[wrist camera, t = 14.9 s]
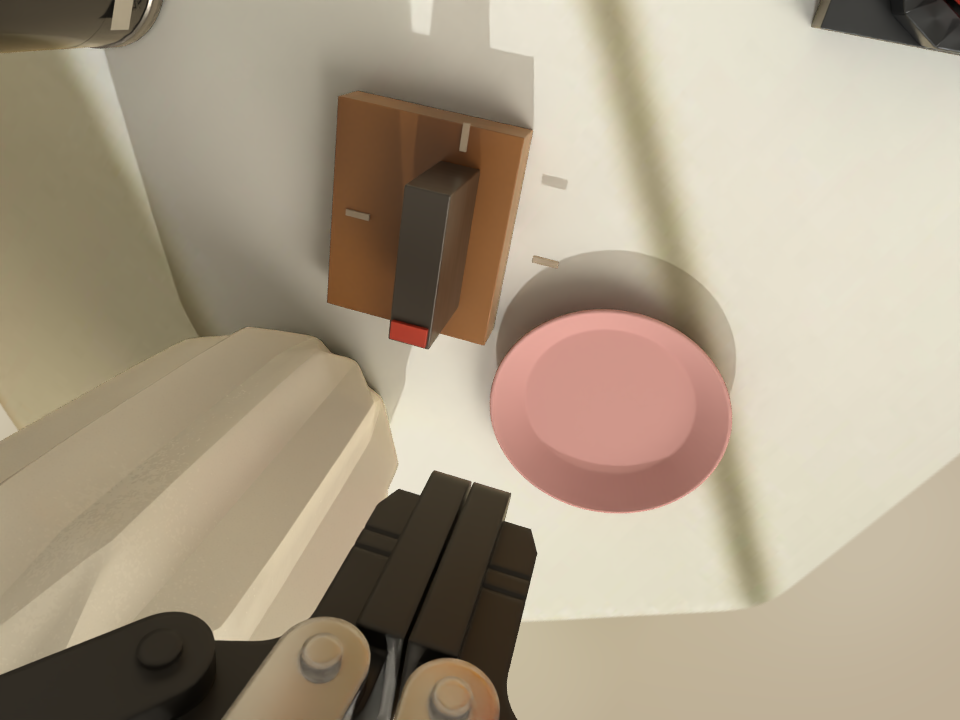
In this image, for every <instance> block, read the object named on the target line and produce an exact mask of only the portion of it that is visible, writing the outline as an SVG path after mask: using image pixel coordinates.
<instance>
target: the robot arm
mask: <svg viewBox="0 0 960 720" xmlns="http://www.w3.org/2000/svg"><path fill="white" fill-rule="evenodd" d="M162 2H163V0H0V53H12V52H26V51H40V50H54V49H72V48H85V47H90V48H113V47H122V46H126V45H129V44H131V43H133V42H135V41H137V40H139V39H140V38H141V37H143V36H144V35H145V34H146V33H147V32H148V31H149V29H150V28H151V27H152V25H153V24H154V22H155V21H156V19H157V16H158V14H159V12H160V9H161V6H162ZM510 497H511V493H509V492H505V491H502V490H499V489H495V488H492V487H489V486H485V485H482V484H479V483H475V482H474V483H473V485H472V487H471V481H468V480H465V479H461V478H458V477H455V476H452V475H448V474H445V473H442V472H438V471H433V472H432V474H431V476H430V477H429V479H428V481H427V483H426V485H425V487H424V489H423V491H422V493H421V495H417V494H414V493H411V492H407V491H404V490H401V489H398V490H396V491H395V492H394V493H392V494H391V495H389V496H388V497H386V498H385V499H384V500H382V501H381V502H379V503H378V504H377V506H376V507H375V509H374V511H373V512H372V514H371V516H370V518H369V519H368V521H367V523H366V524H365V528H364V529H362V531H361V533H360V535H359V536H358V538H357V540H356V541H355V545H354V546H352V548H351V550H350V552H349V553H348V555H347V557H346V558H345V560H344V562H343V564H342V565H341V567H340V569H339V570H338V572H337V574H336V575H335V577H334V579H333V581H332V582H331V584H330V586H329V587H328V589H327V591H326V593H325V594H324V596H323V598H322V599H321V601H320V603H319V604H318V606H317V608H316V610H315V611H314V612H313V614H312V615H311V616H310V618H309V619H307V620H304V621H302V622H299V623H297V624H296V625H294V626H293V627H291V628H290V629H289V630H287V631H286V632H285V633H284V634H283V635H282V636H280V637H277V638H274V639H269V640H263V641H227V640H215V639H214V635H213V632H212V630H211V629H210V627H209V626H208V625H207V624H206V623H205V622H204V621H203V620H202V619H200V618H199V617H197V616H195V615H192V614H189V613H185V612H175V611H173V612H163V613H158V614H154V615H151V616H148V617H145V618H142V619H140V620H137V621H135V622H132V623H130V624H127V625H125V626H122V627H120V628H117V629H115V630H112V631H110V632H107V633H105V634H102V635H100V636H97V637H94V638H92V639H89V640H87V641H84V642H82V643H79V644H77V645H74V646H72V647H69V648H67V649H64V650H62V651H59V652H57V653H54V654H51V655H49V656H46V657H44V658H41V659H39V660H36V661H34V662H31V663H29V664H26V665H24V666H21V667H19V668H16V669H14V670H11V671H9V672H6V673H3V674H1V675H0V720H393V719H394V720H517V718H516V717H515V715H514V713H513V711H512V709H511V706H510V703H509V700H508V695H507V677H508V672H509V668H510V664H511V660H512V655H513V651H514V647H515V643H516V639H517V635H518V631H519V626H520V622H521V618H522V614H523V610H524V606H525V601H526V597H527V593H528V589H529V585H530V581H531V577H532V573H533V569H534V564H535V560H536V556H537V551H536V547H535V543H534V539H533V535H532V532H531V529H528V528H525V527H522V526H518V525H515V524H512V523H509V522H505V517H506V513H507V509H508V505H509V501H510ZM394 716H395V717H394Z"/></svg>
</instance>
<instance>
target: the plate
mask: <svg viewBox="0 0 960 720" xmlns="http://www.w3.org/2000/svg"><path fill="white" fill-rule="evenodd" d="M490 415H491V421H492V426H493V429H494V433H495V435H496V438H497V440H498V443H499V445H500V447H501V449H502V450H503V452H504V454H505V455H506V457H507V458H508V460H509V461H510V463H511V464H512V465H513V466H514V467H515V469H516V470H517V471H518V472H519V473H520V474H521V475H522V476H523V477H524V478H525V479H527V480H528V481H529V482H530V483H531V484H533V485H534V486H535V487H537V488H538V489H540V490H541V491H543V492H544V493H546V494H548V495H549V496H551V497H553V498H555V499H557V500H559V501H562V502H564V503H567V504H569V505H572V506H575V507H579V508H582V509H586V510H591V511H597V512H604V513H633V512H641V511H647V510H651V509H655V508H659V507H662V506H665V505H667V504H670V503H672V502H674V501H676V500H678V499H680V498H682V497H684V496H686V495H687V494H689V493H690V492H692V491H693V490H695V489H696V488H697V487H698V486H700V485H701V484H702V483H703V482H704V481H705V480H706V479H707V478H708V477H709V476H710V475H711V474H712V472H713V471H714V470H715V468H716V467H717V465H718V464H719V462H720V461H721V459H722V457H723V455H724V453H725V450H726V448H727V445H728V442H729V438H730V434H731V427H732V409H731V402H730V397H729V394H728V390H727V387H726V385H725V382H724V380H723V378H722V376H721V374H720V372H719V371H718V369H717V367H716V366H715V364H714V363H713V362H712V360H711V359H710V358H709V356H708V355H707V354H706V353H705V352H704V351H703V350H702V349H701V348H700V347H699V346H698V345H697V344H696V343H695V342H694V341H692V340H691V339H690V338H689V337H687V336H686V335H685V334H683V333H682V332H680V331H678V330H677V329H675V328H673V327H672V326H670V325H668V324H666V323H664V322H661V321H659V320H657V319H654V318H651V317H648V316H645V315H642V314H638V313H634V312H628V311H622V310H612V309H593V310H584V311H577V312H573V313H569V314H565V315H562V316H559V317H556V318H553V319H551V320H549V321H546V322H544V323H542V324H540V325H539V326H537V327H535V328H534V329H532V330H531V331H529V332H528V333H527V334H525V335H524V336H523V337H522V338H520V339H519V340H518V341H517V342H516V343H515V344H514V345H513V346H512V348H511V349H510V350H509V351H508V352H507V354H506V355H505V357H504V358H503V360H502V362H501V363H500V365H499V367H498V369H497V372H496V374H495V377H494V380H493V384H492V388H491V394H490Z"/></svg>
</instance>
